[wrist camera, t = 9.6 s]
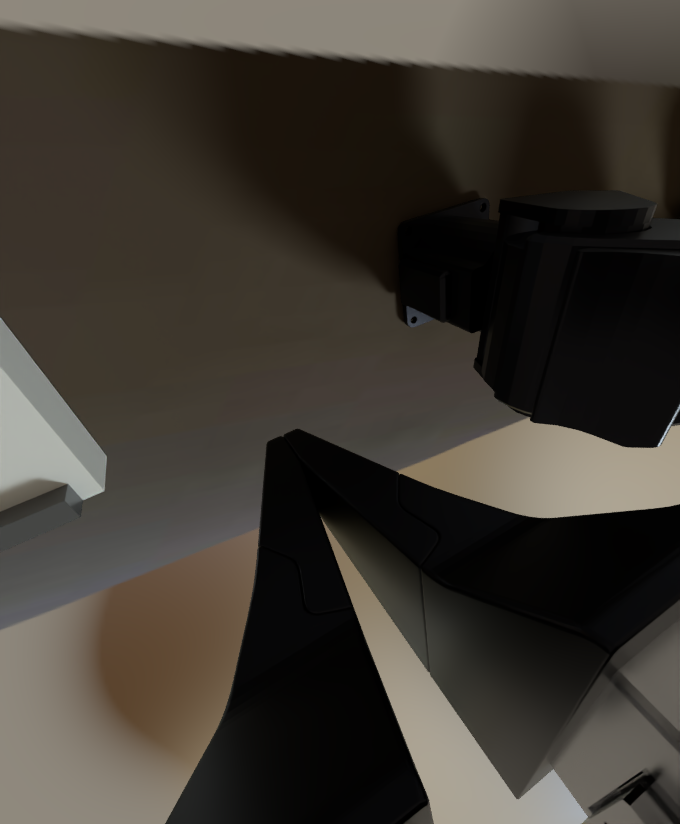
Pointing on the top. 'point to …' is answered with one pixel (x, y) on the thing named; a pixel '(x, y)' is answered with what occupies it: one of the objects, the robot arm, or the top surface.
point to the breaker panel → (40, 451)
